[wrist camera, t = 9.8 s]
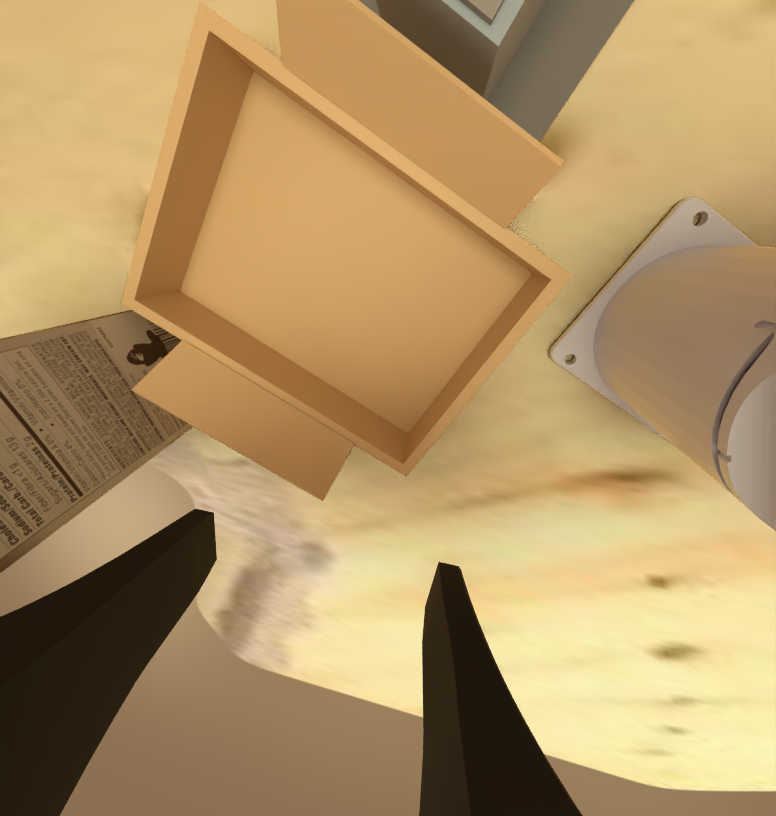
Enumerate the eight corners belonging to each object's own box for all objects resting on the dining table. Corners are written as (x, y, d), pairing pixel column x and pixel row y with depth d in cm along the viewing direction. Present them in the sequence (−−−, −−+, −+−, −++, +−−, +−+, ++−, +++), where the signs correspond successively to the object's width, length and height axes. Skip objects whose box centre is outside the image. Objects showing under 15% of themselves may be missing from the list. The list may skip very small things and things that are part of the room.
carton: (576, 231, 16) (648, 225, 10) (394, 462, 22) (379, 536, 16) (269, -2, 14) (159, -158, 8) (163, 321, 20) (60, 351, 14)
